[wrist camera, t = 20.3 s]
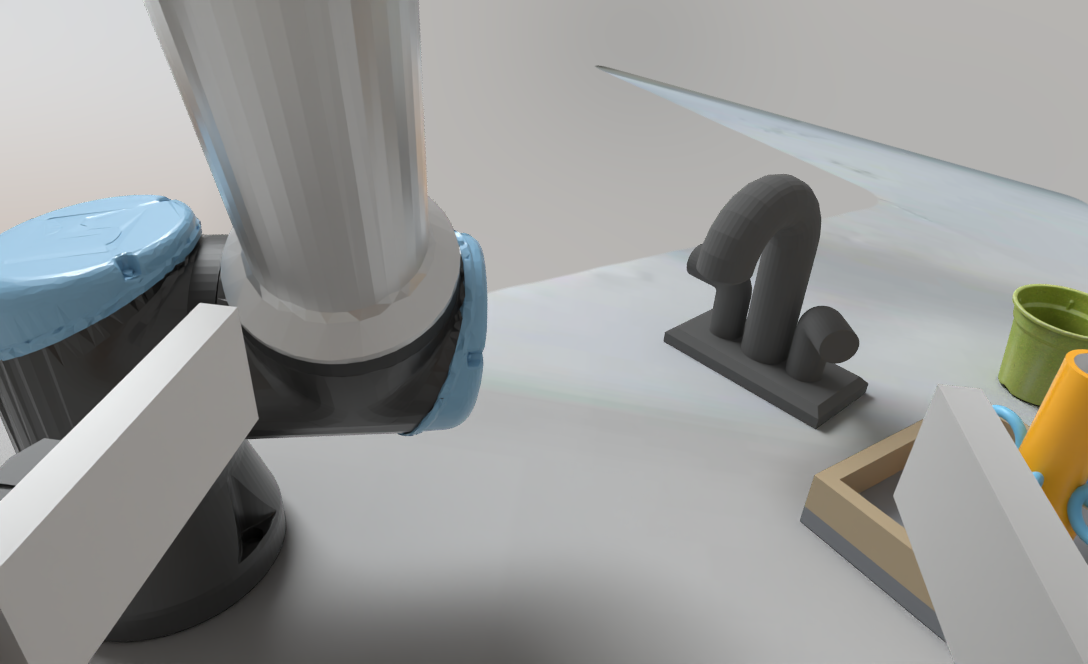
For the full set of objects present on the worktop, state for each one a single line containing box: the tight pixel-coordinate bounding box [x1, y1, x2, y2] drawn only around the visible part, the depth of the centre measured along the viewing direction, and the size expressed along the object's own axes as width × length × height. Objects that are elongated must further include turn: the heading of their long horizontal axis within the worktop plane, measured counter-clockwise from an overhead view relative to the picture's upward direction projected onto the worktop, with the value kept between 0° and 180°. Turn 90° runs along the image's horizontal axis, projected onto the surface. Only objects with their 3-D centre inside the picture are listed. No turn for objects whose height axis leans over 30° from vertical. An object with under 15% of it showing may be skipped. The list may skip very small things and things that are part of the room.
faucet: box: [664, 174, 868, 429], centre depth 66 cm, size 18×16×20 cm
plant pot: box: [998, 284, 1088, 406], centre depth 70 cm, size 9×9×9 cm
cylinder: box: [992, 349, 1088, 545], centre depth 50 cm, size 12×10×15 cm
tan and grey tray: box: [800, 404, 1088, 643], centre depth 53 cm, size 19×19×4 cm
